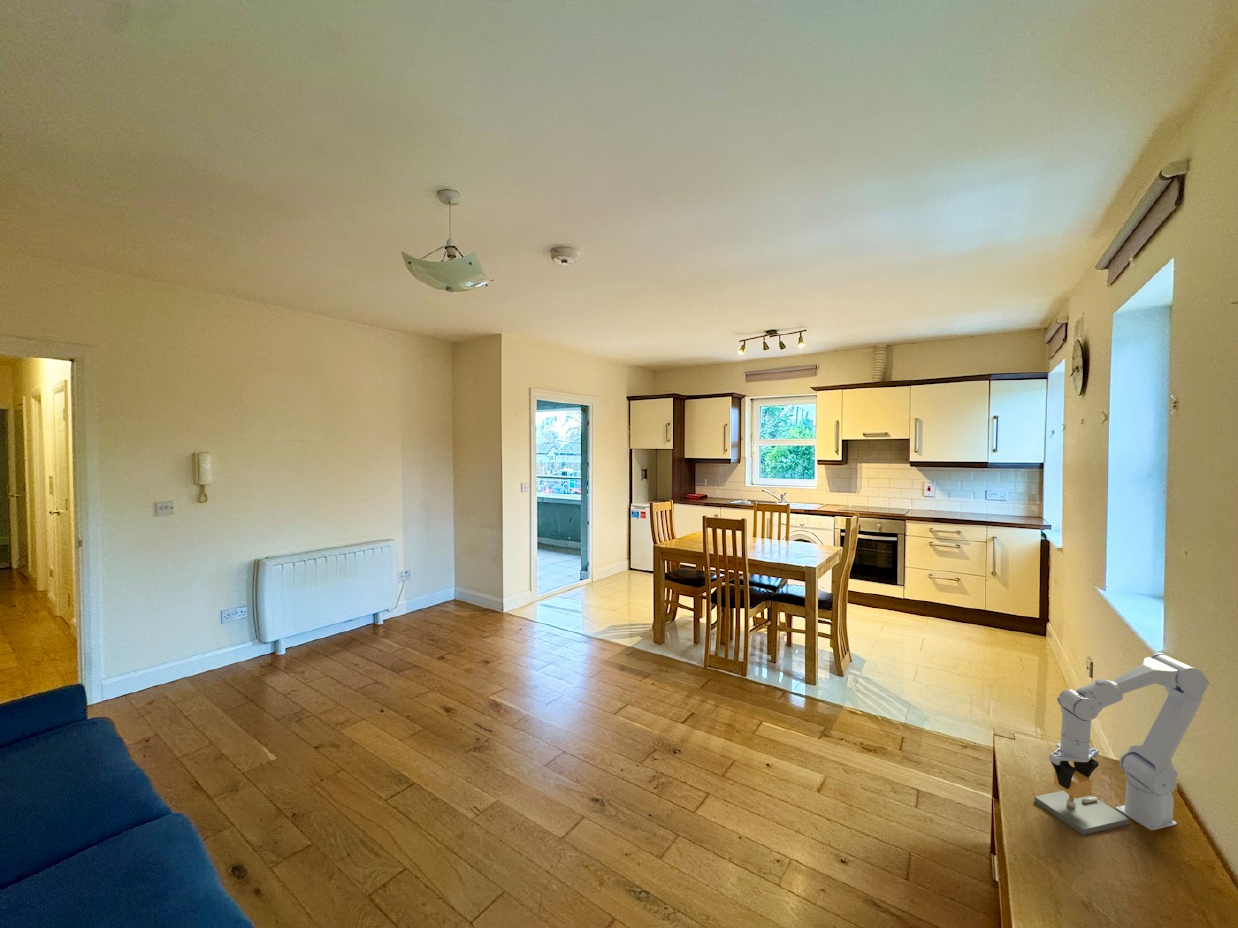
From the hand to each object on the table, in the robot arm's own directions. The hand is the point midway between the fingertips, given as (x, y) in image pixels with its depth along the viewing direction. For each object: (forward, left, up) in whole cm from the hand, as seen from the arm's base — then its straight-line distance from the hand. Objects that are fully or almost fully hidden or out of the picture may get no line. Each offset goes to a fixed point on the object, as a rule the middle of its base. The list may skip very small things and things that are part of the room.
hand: (1072, 784), depth 136 cm
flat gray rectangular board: (-2, +1, -8) cm, 8 cm away
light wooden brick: (0, 0, -1) cm, 1 cm away
